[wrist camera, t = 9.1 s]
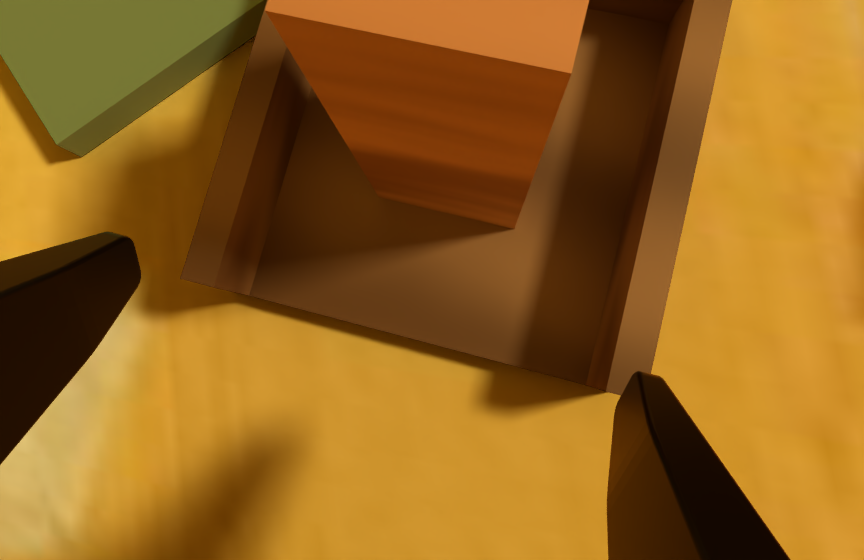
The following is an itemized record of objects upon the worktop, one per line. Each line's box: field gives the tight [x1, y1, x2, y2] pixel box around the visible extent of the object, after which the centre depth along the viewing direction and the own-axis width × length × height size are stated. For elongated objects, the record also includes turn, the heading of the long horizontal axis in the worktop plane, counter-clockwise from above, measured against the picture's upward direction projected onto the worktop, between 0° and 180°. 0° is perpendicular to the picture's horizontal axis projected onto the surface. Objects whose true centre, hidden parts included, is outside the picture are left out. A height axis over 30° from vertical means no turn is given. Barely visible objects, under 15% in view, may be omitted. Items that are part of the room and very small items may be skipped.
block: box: [265, 0, 589, 229], centre depth 13 cm, size 4×4×10 cm
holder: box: [180, 0, 732, 395], centre depth 17 cm, size 13×13×3 cm
